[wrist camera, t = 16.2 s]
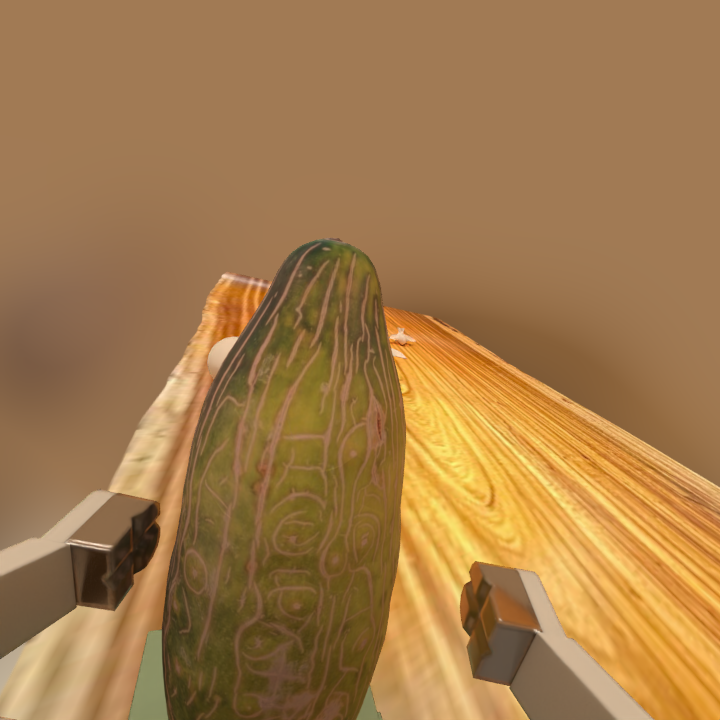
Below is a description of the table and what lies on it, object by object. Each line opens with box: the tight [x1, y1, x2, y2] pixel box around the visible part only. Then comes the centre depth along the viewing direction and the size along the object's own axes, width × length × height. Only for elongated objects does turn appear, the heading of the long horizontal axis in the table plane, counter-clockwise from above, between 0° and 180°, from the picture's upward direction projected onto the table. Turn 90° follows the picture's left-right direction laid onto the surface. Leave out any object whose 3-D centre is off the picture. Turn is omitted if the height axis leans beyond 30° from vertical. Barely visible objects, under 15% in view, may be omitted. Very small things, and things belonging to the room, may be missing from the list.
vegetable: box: [162, 238, 406, 720], centre depth 11 cm, size 6×6×20 cm
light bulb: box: [207, 337, 239, 379], centre depth 49 cm, size 7×7×11 cm
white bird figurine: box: [389, 328, 416, 345], centre depth 99 cm, size 8×5×5 cm, turn 101°
